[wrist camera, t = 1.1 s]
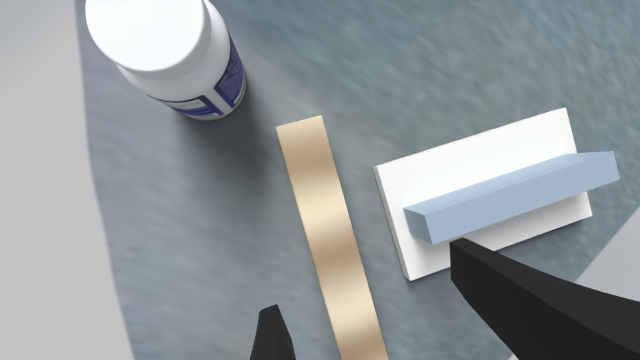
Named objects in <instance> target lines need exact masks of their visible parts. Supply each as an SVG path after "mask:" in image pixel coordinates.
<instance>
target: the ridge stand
mask: <svg viewBox="0 0 640 360" xmlns="http://www.w3.org/2000/svg"><path fill="white" fill-rule="evenodd" d="M373 171H374V174H375V177H376V181H377V184H378V188H379V191H380V195H381V198H382V201H383V205H384V208H385V212H386V215H387V218H388V222H389V225H390V229H391V232H392V235H393V239H394V242H395V246H396V249H397V253H398V256H399V259H400V263H401V266H402V270H403V273H404V276H405V277H406V278H408V279H409V280H410V281H412V280H415V279H417V278H420V277H423V276H426V275H428V274H431V273H434V272H437V271H440V270H442V269H445V268H448V267H451V266H450V246H449V242H451V241H454V240H456V239H459V238H462V237H464V238H466V239H468V240H471V241H473V242H475V243H477V244H479V245H482V246H484V247H486V248H488V249H490V250H492V251H495V250H498V249H501V248H503V247H506V246H509V245H512V244H515V243H517V242H520V241H523V240H526V239H529V238H531V237H534V236H537V235H540V234H542V233H545V232H548V231H551V230H554V229H556V228H559V227H562V226H565V225H567V224H570V223H573V222H576V221H579V220H581V219H584V218H587V217H590V216H592V213H591V209H590V204H589V200H588V196H587V192H586V191H588V190H591V189H594V188H597V187H600V186H603V185H605V184H608V183H611V182H614V181H617V180H620V178H619V174H618V170H617V165H616V161H615V157H614V153H613V151H610V152H592V153H577V151H576V147H575V143H574V139H573V135H572V131H571V127H570V123H569V119H568V115H567V111H566V108H562V109H557V110H553V111H550V112H546V113H543V114H540V115H537V116H534V117H531V118H527V119H524V120H521V121H518V122H515V123H512V124H508V125H505V126H502V127H499V128H496V129H492V130H489V131H486V132H483V133H480V134H477V135H473V136H470V137H467V138H464V139H461V140H458V141H454V142H451V143H448V144H445V145H442V146H438V147H435V148H432V149H429V150H426V151H423V152H419V153H416V154H413V155H410V156H407V157H404V158H400V159H397V160H394V161H391V162H388V163H385V164H381V165H378V166H375V167H373Z"/></svg>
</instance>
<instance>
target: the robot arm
mask: <svg viewBox="0 0 640 360" xmlns="http://www.w3.org/2000/svg"><path fill="white" fill-rule="evenodd" d="M449 246H450V266H451V280H452V281H453V283H454V284H455V286H456V287H457V288H458V290H459V291H460V293H461V294H462V295H463V297H464V298H465V300H466V301H467V302H468V303H469V304H470V306H471V307H472V308H473V309H474V310H475V311H476V312H477V313H478V315H479V316H480V317H481V318H482V319H483V320H484V321H485V322H486V323H487V324H488V326H489V327H490V328H491V329H492V330H493V331H494V332H495V333H496V334H497V335H498V337H499V338H500V339H501V340H502V341H503V342H504V343H505V344H506V345H507V346H508V348H509V349H510V350H511V351H512V352H513V353H514V354H515V356H516V357H517V358H518V359H519V360H640V302H638V301H634V300H630V299H626V298H623V297H619V296H615V295H611V294H608V293H604V292H601V291H597V290H594V289H590V288H587V287H584V286H581V285H578V284H575V283H572V282H569V281H566V280H563V279H560V278H557V277H555V276H552V275H549V274H547V273H544V272H542V271H539V270H536V269H534V268H531V267H529V266H527V265H524V264H522V263H519V262H517V261H515V260H512V259H510V258H508V257H506V256H503V255H501V254H499V253H497V252H495V251H492V250H490V249H488V248H486V247H484V246H482V245H479V244H477V243H475V242H473V241H471V240H468V239H466V238H464V237H462V238H459V239H456V240H454V241H451V242H449ZM250 360H296V358H295V353H294V349H293V344H292V340H291V337H290V335H289V332H288V330H287V327H286V325H285V322H284V320H283V317H282V315H281V313H280V310H279V308H278V305H277V304H276V305H273V306H270V307H268V308H265V309H262V310H261V311H260V313H259V320H258V326H257V331H256V336H255V340H254V345H253V349H252V353H251V357H250Z"/></svg>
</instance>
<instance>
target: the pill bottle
mask: <svg viewBox="0 0 640 360" xmlns="http://www.w3.org/2000/svg"><path fill="white" fill-rule="evenodd" d="M86 21H87V26H88V28H89V31H90V34H91V36H92V38H93V40H94V42H95V43H96V45H97V46H98V47H99V49H100V50H101V51H102V52H103V53H104V54H105V55H106V56H107V57H108V58H109V59H111V60H112V61H113V62H115V63H116V65H117V67H118V68H119V70H120V71H121V73H122V74H123V75H124V77H125V78H126V79H127V80H128V81H129V82H130V83H131V84H132V85H134V86H135V87H136V88H137V89H139V90H140V91H142V92H144V93H145V94H147V95H148V96H150V97H152V98H154V99H156V100H158V101H160V102H162V103H163V104H165V105H167V106H169V107H171V108H173V109H175V110H177V111H178V112H180V113H182V114H184V115H186V116H189V117H191V118H194V119H199V120H214V119H218V118H221V117H224V116H226V115H228V114H229V113H230V112H232V111H233V110H234V109H235V108H236V107H237V106H238V105H239V103H240V102H241V100H242V98H243V95H244V92H245V88H246V75H245V70H244V67H243V64H242V62H241V60H240V57H239V55H238V53H237V50H236V48H235V46H234V43H233V41H232V39H231V37H230V34H229V32H228V29H227V27H226V25H225V23H224V21H223V19H222V17H221V16H220V14H219V13H218V11H217V10H216V9H215V7H214V6H213V5H212V4H211V3H210V2H209V1H208V0H86Z"/></svg>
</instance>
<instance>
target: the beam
mask: <svg viewBox="0 0 640 360" xmlns="http://www.w3.org/2000/svg"><path fill="white" fill-rule="evenodd" d="M276 133H277V137H278V140H279V144H280V147H281V151H282V154H283V158H284V161H285V165H286V168H287V172H288V175H289V179H290V182H291V186H292V189H293V193H294V196H295V200H296V203H297V207H298V210H299V214H300V217H301V221H302V224H303V228H304V231H305V235H306V238H307V242H308V245H309V249H310V252H311V256H312V259H313V263H314V266H315V270H316V273H317V277H318V280H319V284H320V287H321V291H322V294H323V298H324V301H325V305H326V308H327V312H328V315H329V319H330V322H331V326H332V329H333V333H334V336H335V340H336V343H337V347H338V350H339V354H340V357H341V360H389V359H388V356H387V352H386V348H385V345H384V341H383V338H382V334H381V330H380V327H379V323H378V319H377V316H376V312H375V308H374V305H373V301H372V298H371V294H370V290H369V287H368V283H367V279H366V276H365V272H364V268H363V265H362V261H361V258H360V254H359V250H358V247H357V243H356V239H355V236H354V232H353V229H352V225H351V221H350V218H349V214H348V210H347V207H346V203H345V199H344V196H343V192H342V189H341V185H340V181H339V178H338V174H337V170H336V167H335V163H334V159H333V156H332V152H331V149H330V145H329V141H328V138H327V134H326V130H325V127H324V123H323V119H322V116H321V115H320V116H316V117H312V118H308V119H305V120H301V121H297V122H293V123H289V124H286V125H282V126H278V127H276Z"/></svg>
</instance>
